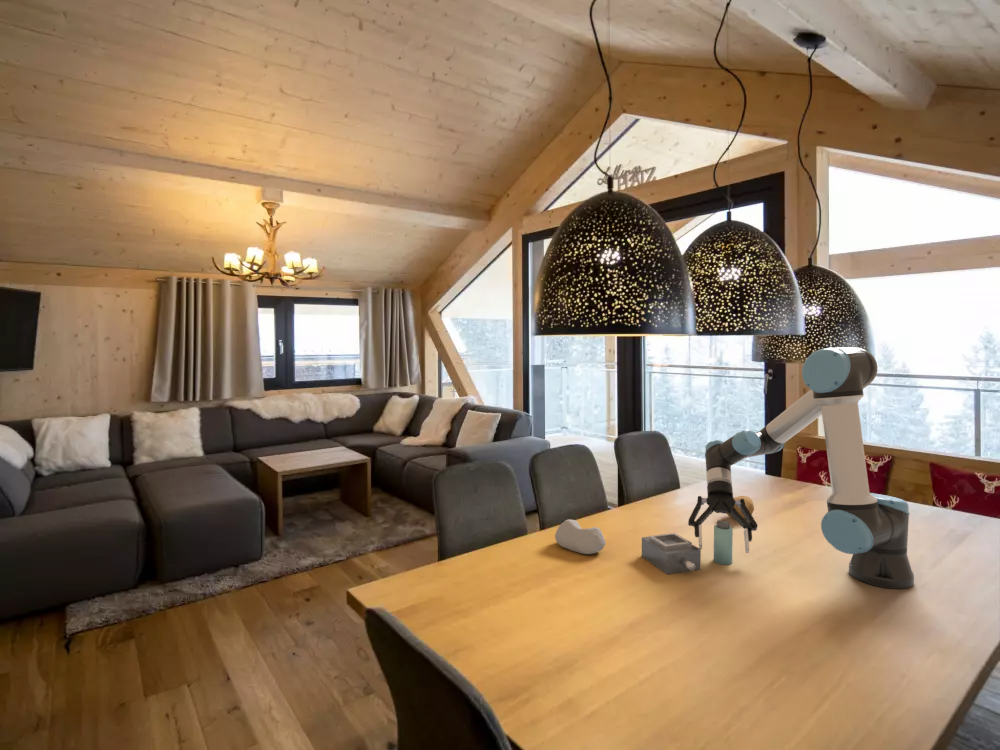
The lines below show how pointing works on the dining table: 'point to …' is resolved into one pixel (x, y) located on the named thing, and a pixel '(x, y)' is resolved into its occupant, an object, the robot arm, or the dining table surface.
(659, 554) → the square hollow holder
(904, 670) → the dining table surface
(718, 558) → the teal bottle
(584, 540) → the decorative stone
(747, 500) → the potato
